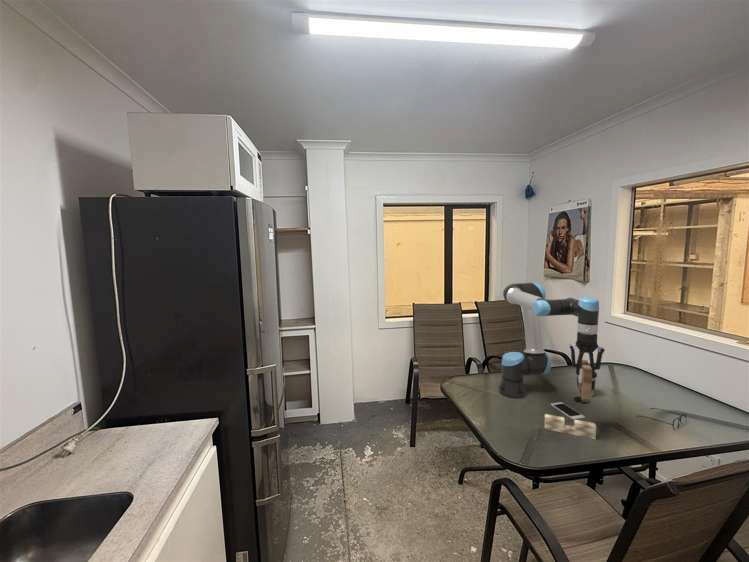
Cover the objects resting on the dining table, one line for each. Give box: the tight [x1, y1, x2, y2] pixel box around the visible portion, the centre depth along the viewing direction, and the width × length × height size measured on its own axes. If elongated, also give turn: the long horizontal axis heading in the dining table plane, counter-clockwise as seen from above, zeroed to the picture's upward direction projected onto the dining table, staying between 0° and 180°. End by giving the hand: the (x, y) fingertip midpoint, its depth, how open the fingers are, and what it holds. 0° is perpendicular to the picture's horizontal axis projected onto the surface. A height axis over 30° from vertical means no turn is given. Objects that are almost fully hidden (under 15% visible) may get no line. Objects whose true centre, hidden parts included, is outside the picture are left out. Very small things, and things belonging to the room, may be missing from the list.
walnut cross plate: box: [577, 359, 592, 403], centre depth 142 cm, size 12×3×15 cm, turn 155°
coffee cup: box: [576, 371, 598, 398], centre depth 179 cm, size 10×10×15 cm
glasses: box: [636, 407, 687, 431], centre depth 153 cm, size 14×15×5 cm
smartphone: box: [550, 401, 586, 421], centre depth 163 cm, size 7×16×1 cm, turn 11°
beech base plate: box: [544, 413, 597, 440], centre depth 145 cm, size 20×3×6 cm, turn 63°
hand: (584, 382), depth 143 cm, fingers closed on walnut cross plate, 3 cm apart
